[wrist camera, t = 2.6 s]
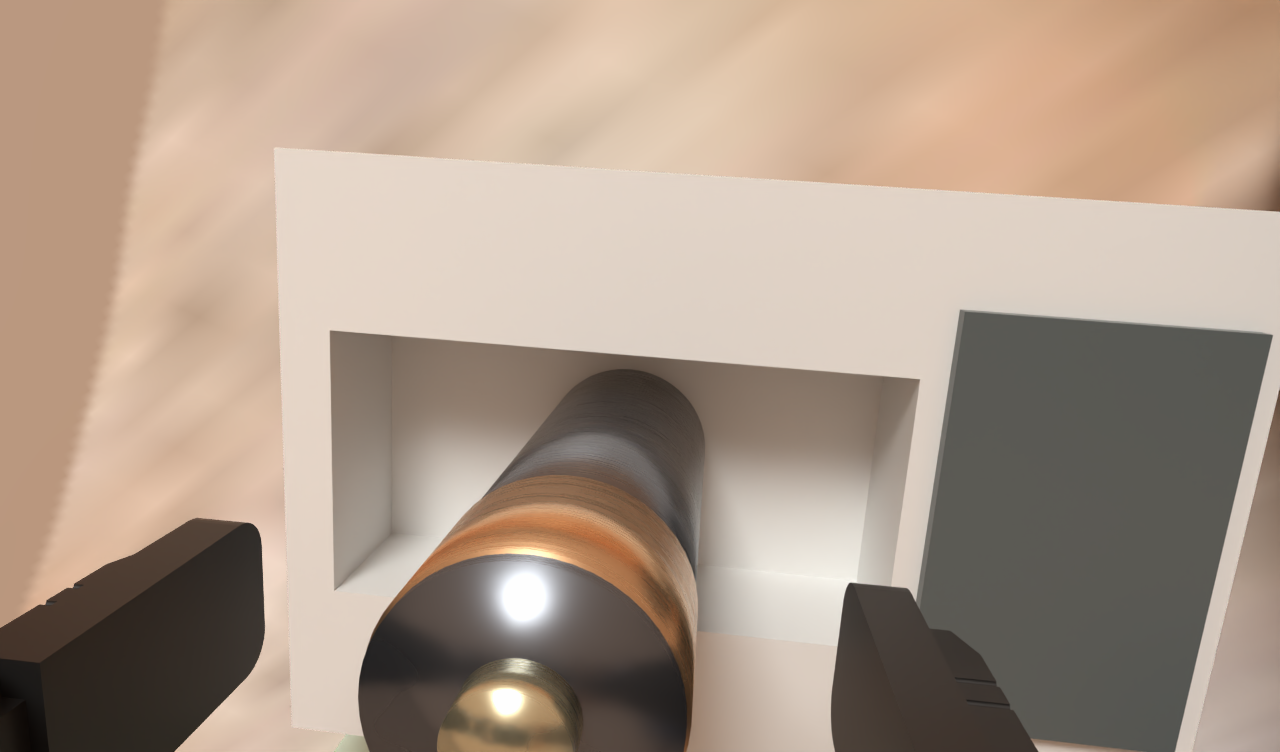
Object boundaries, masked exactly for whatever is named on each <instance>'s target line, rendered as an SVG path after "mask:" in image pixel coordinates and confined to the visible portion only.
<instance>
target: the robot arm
mask: <svg viewBox="0 0 1280 752" xmlns="http://www.w3.org/2000/svg"><path fill="white" fill-rule="evenodd" d="M264 633H265V620H264V594H263V569H262V545H261V538H260V534H259V531H258V529H257V528H256V527H255V526H254V525H253V524H251V523H243V522H233V521H223V520H212V519H202V518H195V519H192V520H190V521H188V522H186V523H185V524H183V525H182V526H180V527H178V528H177V529H175V530H173V531H172V532H170V533H168V534H167V535H165V536H164V537H162V538H160V539H159V540H157V541H155V542H154V543H152V544H150V545H149V546H147V547H146V548H144V549H142V550H141V551H139V552H137V553H136V554H134V555H131V556H128V557H126V558H123V559H120V560H117V561H115V562H112V563H109V564H106V565H105V566H103V567H101V568H100V569H98V570H96V571H95V572H93V573H91V574H90V575H88V576H86V577H85V578H83V579H81V580H80V581H78V582H76V583H75V584H74V587H73V588H66V589H65V590H63V591H61V592H60V593H58V594H56V595H55V596H53V597H51V598H50V599H48V600H47V602H46V604H45V605H38V606H36V607H35V608H33V609H31V610H30V611H28V612H26V613H25V614H23V615H21V616H20V617H18V618H16V619H15V620H13V621H11V622H10V623H8V624H6V625H5V626H3V627H1V628H0V752H174V751H175V750H176V749H177V748H178V747H179V746H180V745H181V744H182V743H183V742H184V741H185V740H186V739H187V738H188V737H189V736H190V735H191V734H192V733H193V732H194V731H195V730H196V729H197V728H198V727H199V726H200V725H201V724H202V723H203V722H204V721H205V720H206V719H207V718H208V717H209V715H210V714H211V713H212V712H213V711H214V710H215V709H216V708H217V707H218V706H219V705H220V704H221V703H222V702H223V701H224V700H225V699H226V698H227V697H228V696H229V695H230V694H231V693H232V692H233V691H234V690H235V689H236V688H237V687H238V686H239V685H240V684H241V683H242V682H243V681H244V680H245V679H246V678H247V676H248V675H249V674H250V673H251V671H252V670H253V668H254V666H255V664H256V662H257V660H258V658H259V655H260V652H261V649H262V645H263V640H264ZM996 682H997V681H996V680H995V678H994V676H993V675H992V673H991V671H990V670H989V668H988V666H987V665H986V663H985V661H984V660H983V658H982V656H981V655H980V654H979V653H978V652H977V651H975V650H974V649H973V648H972V647H970V646H969V645H968V644H966V643H965V642H964V641H963V640H961V639H960V638H959V637H958V636H956V635H955V634H954V633H953V632H951V631H949V630H939V629H929V627H928V625H927V623H926V621H925V619H924V617H923V615H922V613H921V611H920V609H919V607H918V605H917V603H916V601H915V600H914V598H913V596H912V594H911V592H910V590H909V589H908V588H901V587H891V586H881V585H871V584H860V583H849V584H848V586H847V588H846V591H845V595H844V600H843V607H842V615H841V623H840V631H839V639H838V646H837V654H836V662H835V670H834V678H833V685H832V695H831V731H832V739H833V745H834V749H835V752H1038V750H1037V748H1036V747H1035V745H1034V743H1033V742H1032V740H1031V738H1030V737H1029V735H1028V733H1027V732H1026V730H1025V728H1024V727H1023V725H1022V723H1021V722H1020V720H1019V718H1018V717H1017V715H1016V713H1015V712H1014V710H1010V703H1009V702H1008V700H1007V698H1006V696H1005V695H1004V693H1003V691H1002V690H1001V688H1000V687H997V685H996Z"/></svg>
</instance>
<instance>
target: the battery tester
mask: <svg viewBox="0 0 1280 752" xmlns="http://www.w3.org/2000/svg"><path fill="white" fill-rule="evenodd" d="M274 167H275V199H276V232H277V265H278V297H279V330H280V363H281V396H282V428H283V461H284V494H285V526H286V559H287V592H288V624H289V657H290V690H291V722H292V728H300V729H308V730H316V731H324V732H332V733H340V734H348V735H356V736H364V735H363V730H362V726H361V721H360V717H359V705H358V689H359V677H360V672H361V667H362V662H363V659H364V656H365V653H366V649H367V646H368V643H369V641H370V638H371V635H372V633H373V630H374V628H375V626H376V625H377V623H378V621H379V619H380V617H381V616H382V614H383V612H384V611H385V610H386V608H387V607H388V606H389V605H390V603H391V602H392V601H393V599H394V598H395V597H396V596H397V594H398V593H399V592H400V591H401V590H402V588H403V587H404V586H405V585H406V584H407V582H408V581H409V580H410V579H411V578H412V576H413V575H414V574H415V573H416V572H417V570H418V569H419V568H420V567H421V565H422V564H423V563H424V562H425V561H426V559H427V558H428V557H429V556H430V555H431V553H432V552H433V551H434V550H435V549H436V547H437V546H438V545H439V544H440V543H441V541H442V540H443V539H444V538H445V537H446V535H447V534H448V533H449V532H450V531H451V529H452V528H453V527H454V526H455V524H456V523H457V522H458V521H459V520H460V518H461V517H462V516H463V515H464V514H465V513H466V512H467V511H468V510H469V509H470V508H471V507H472V506H473V505H474V504H475V503H477V502H478V501H479V500H481V499H482V497H483V496H484V495H485V494H486V492H487V491H488V490H489V489H490V487H491V486H492V485H493V484H494V483H495V481H496V480H497V479H498V478H499V476H500V475H501V474H502V473H503V471H504V470H505V469H506V468H507V467H508V465H509V464H510V463H511V462H512V460H513V459H514V458H515V457H516V456H517V454H518V453H519V452H520V451H521V449H522V448H523V447H524V446H525V444H526V443H527V442H528V441H529V440H530V438H531V437H532V436H533V435H534V433H535V432H536V431H537V430H538V428H539V427H540V426H541V425H542V424H543V422H544V421H545V420H546V419H547V417H548V416H549V415H550V414H551V413H552V411H553V410H554V409H555V408H556V406H557V405H558V404H559V403H560V401H561V400H562V399H563V398H564V397H565V395H566V394H567V393H568V392H569V391H570V390H571V389H572V388H573V387H575V386H576V385H577V384H579V383H580V382H581V381H583V380H585V379H587V378H588V377H590V376H593V375H595V374H598V373H601V372H605V371H609V370H616V369H632V370H639V371H644V372H647V373H651V374H653V375H656V376H658V377H660V378H662V379H664V380H666V381H667V382H669V383H671V384H672V385H673V386H674V387H676V388H677V389H678V390H679V391H680V392H681V393H682V394H683V395H684V396H685V397H686V398H687V399H688V400H689V402H690V403H691V404H692V406H693V408H694V409H695V411H696V413H697V415H698V417H699V419H700V422H701V425H702V429H703V432H704V439H705V459H704V474H703V489H702V504H701V519H700V534H699V549H698V564H697V579H696V588H697V596H698V620H697V637H696V655H695V672H694V689H693V707H692V724H691V731H690V737H689V744H688V748H687V751H686V752H835V749H834V745H833V739H832V731H831V695H832V685H833V678H834V670H835V662H836V654H837V646H838V639H839V631H840V623H841V615H842V607H843V600H844V595H845V591H846V588H847V586H848V584H849V583H860V584H871V585H881V586H891V587H901V588H908V589H909V590H910V592H911V594H912V596H913V598H914V600H915V601H916V603H917V605H918V607H919V609H920V611H921V613H922V615H923V617H924V619H925V621H926V623H927V625H928V627H929V629H939V630H949V631H951V632H953V633H954V634H955V635H956V636H958V637H959V638H960V639H961V640H963V641H964V642H965V643H966V644H968V645H969V646H970V647H972V648H973V649H974V650H975V651H977V652H978V653H979V654H980V655H981V656H982V658H983V660H984V661H985V663H986V665H987V666H988V668H989V670H990V671H991V673H992V675H993V676H994V678H995V680H996V681H997V682H996V685H997V687H1000V688H1001V690H1002V691H1003V693H1004V695H1005V696H1006V698H1007V700H1008V702H1009V703H1010V710H1014V712H1015V713H1016V715H1017V717H1018V718H1019V720H1020V722H1021V723H1022V725H1023V727H1024V728H1025V730H1026V732H1027V733H1028V735H1029V737H1030V738H1031V740H1032V742H1033V743H1034V745H1035V747H1036V748H1037V750H1038V752H1192V750H1193V746H1194V742H1195V738H1196V734H1197V730H1198V725H1199V721H1200V717H1201V713H1202V709H1203V705H1204V701H1205V696H1206V692H1207V688H1208V684H1209V680H1210V676H1211V671H1212V667H1213V663H1214V659H1215V655H1216V651H1217V647H1218V642H1219V638H1220V634H1221V630H1222V626H1223V622H1224V617H1225V613H1226V609H1227V605H1228V601H1229V597H1230V593H1231V588H1232V584H1233V580H1234V576H1235V572H1236V568H1237V563H1238V559H1239V555H1240V551H1241V547H1242V543H1243V539H1244V534H1245V530H1246V526H1247V522H1248V518H1249V514H1250V509H1251V505H1252V501H1253V497H1254V493H1255V489H1256V485H1257V480H1258V476H1259V472H1260V468H1261V464H1262V460H1263V456H1264V451H1265V447H1266V443H1267V439H1268V435H1269V431H1270V426H1271V422H1272V418H1273V414H1274V410H1275V406H1276V402H1277V397H1278V393H1279V389H1280V212H1275V211H1260V210H1244V209H1228V208H1213V207H1197V206H1181V205H1166V204H1150V203H1134V202H1119V201H1103V200H1088V199H1072V198H1056V197H1041V196H1025V195H1009V194H994V193H978V192H962V191H947V190H931V189H915V188H900V187H884V186H868V185H853V184H837V183H822V182H806V181H790V180H775V179H759V178H743V177H728V176H712V175H696V174H681V173H665V172H649V171H634V170H618V169H602V168H587V167H571V166H556V165H540V164H524V163H509V162H493V161H477V160H462V159H446V158H430V157H415V156H399V155H383V154H368V153H352V152H336V151H321V150H305V149H289V148H274Z"/></svg>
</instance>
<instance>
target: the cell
mask: <svg viewBox="0 0 1280 752" xmlns="http://www.w3.org/2000/svg"><path fill="white" fill-rule="evenodd" d="M704 459H705V439H704V432H703V429H702V425H701V422H700V419H699V417H698V415H697V413H696V411H695V409H694V408H693V406H692V404H691V403H690V402H689V400H688V399H687V398H686V397H685V396H684V395H683V394H682V393H681V392H680V391H679V390H678V389H677V388H676V387H674V386H673V385H672V384H671V383H669V382H667V381H666V380H664V379H662V378H660V377H658V376H656V375H653V374H651V373H647V372H644V371H639V370H632V369H616V370H609V371H605V372H601V373H598V374H595V375H593V376H590V377H588V378H587V379H585V380H583V381H581V382H580V383H579V384H577V385H576V386H575V387H573V388H572V389H571V390H570V391H569V392H568V393H567V394H566V395H565V397H564V398H563V399H562V400H561V401H560V403H559V404H558V405H557V406H556V408H555V409H554V410H553V411H552V413H551V414H550V415H549V416H548V417H547V419H546V420H545V421H544V422H543V424H542V425H541V426H540V427H539V428H538V430H537V431H536V432H535V433H534V435H533V436H532V437H531V438H530V440H529V441H528V442H527V443H526V444H525V446H524V447H523V448H522V449H521V451H520V452H519V453H518V454H517V456H516V457H515V458H514V459H513V460H512V462H511V463H510V464H509V465H508V467H507V468H506V469H505V470H504V471H503V473H502V474H501V475H500V476H499V478H498V479H497V480H496V481H495V483H494V484H493V485H492V486H491V487H490V489H489V490H488V491H487V492H486V494H485V495H484V496H483V497H482V499H481V500H479V501H478V502H477V503H475V504H474V505H473V506H472V507H471V508H470V509H469V510H468V511H467V512H466V513H465V514H464V515H463V516H462V517H461V518H460V520H459V521H458V522H457V523H456V524H455V526H454V527H453V528H452V529H451V531H450V532H449V533H448V534H447V535H446V537H445V538H444V539H443V540H442V541H441V543H440V544H439V545H438V546H437V547H436V549H435V550H434V551H433V552H432V553H431V555H430V556H429V557H428V558H427V559H426V561H425V562H424V563H423V564H422V565H421V567H420V568H419V569H418V570H417V572H416V573H415V574H414V575H413V576H412V578H411V579H410V580H409V581H408V582H407V584H406V585H405V586H404V587H403V588H402V590H401V591H400V592H399V593H398V594H397V596H396V597H395V598H394V599H393V601H392V602H391V603H390V605H389V606H388V607H387V608H386V610H385V611H384V612H383V614H382V616H381V617H380V619H379V621H378V623H377V625H376V626H375V628H374V630H373V633H372V635H371V638H370V641H369V643H368V646H367V649H366V653H365V656H364V659H363V662H362V667H361V672H360V677H359V689H358V705H359V717H360V721H361V726H362V730H363V735H364V738H365V741H366V744H367V746H368V749H369V752H686V751H687V748H688V744H689V737H690V731H691V724H692V707H693V689H694V672H695V655H696V637H697V620H698V596H697V588H696V579H697V564H698V549H699V534H700V519H701V504H702V489H703V474H704Z"/></svg>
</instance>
